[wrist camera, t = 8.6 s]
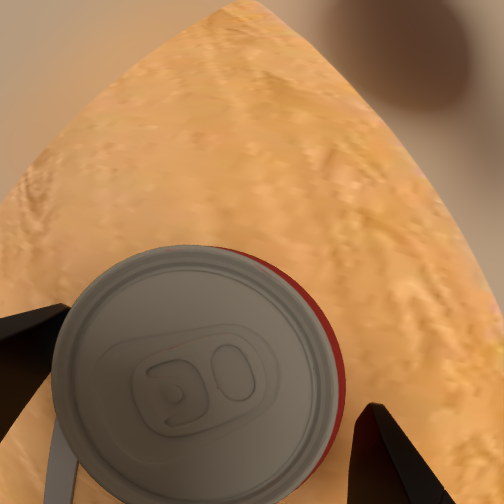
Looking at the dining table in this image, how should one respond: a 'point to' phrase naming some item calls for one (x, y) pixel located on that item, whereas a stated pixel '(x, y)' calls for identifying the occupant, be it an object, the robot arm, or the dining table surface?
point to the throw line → (60, 470)
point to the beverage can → (197, 379)
